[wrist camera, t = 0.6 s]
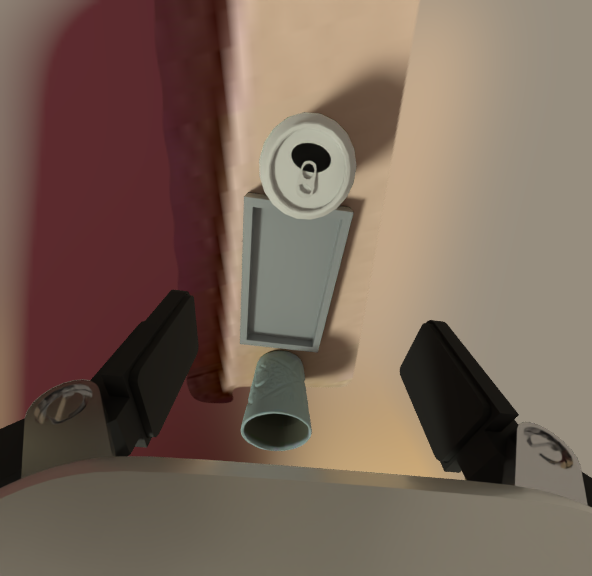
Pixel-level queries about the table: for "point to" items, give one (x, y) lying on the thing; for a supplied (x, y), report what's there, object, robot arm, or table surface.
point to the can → (307, 166)
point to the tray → (288, 274)
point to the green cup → (277, 404)
